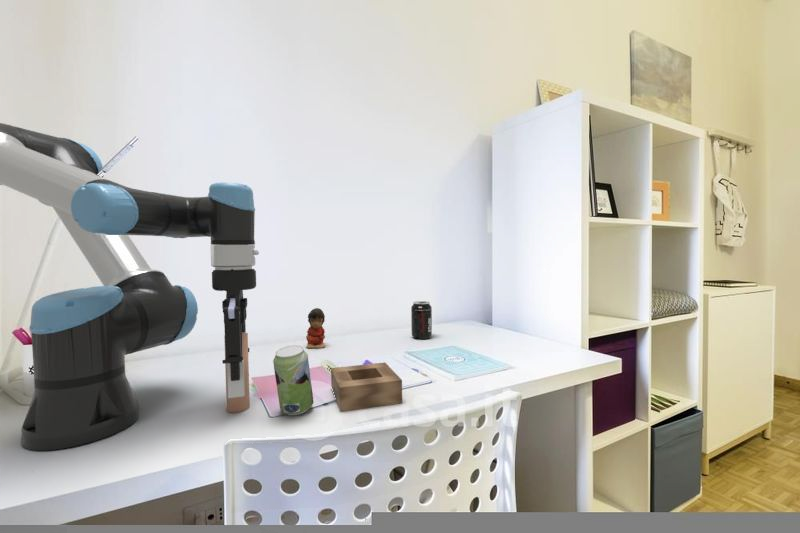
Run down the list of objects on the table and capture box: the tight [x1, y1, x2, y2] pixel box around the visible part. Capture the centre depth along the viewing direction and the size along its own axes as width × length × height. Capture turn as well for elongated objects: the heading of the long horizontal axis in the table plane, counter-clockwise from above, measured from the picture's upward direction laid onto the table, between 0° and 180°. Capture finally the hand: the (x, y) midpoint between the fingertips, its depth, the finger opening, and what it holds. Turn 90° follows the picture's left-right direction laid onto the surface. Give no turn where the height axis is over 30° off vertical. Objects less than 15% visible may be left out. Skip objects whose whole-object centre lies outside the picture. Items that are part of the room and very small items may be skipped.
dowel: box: [223, 332, 251, 413], centre depth 71 cm, size 4×4×14 cm
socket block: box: [330, 362, 403, 412], centre depth 76 cm, size 12×12×4 cm
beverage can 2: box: [410, 300, 433, 340], centre depth 126 cm, size 7×7×12 cm
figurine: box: [305, 307, 326, 349], centre depth 115 cm, size 6×6×12 cm
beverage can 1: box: [272, 345, 314, 416], centre depth 69 cm, size 6×7×12 cm
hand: (237, 391), depth 71 cm, fingers closed on dowel, 4 cm apart
